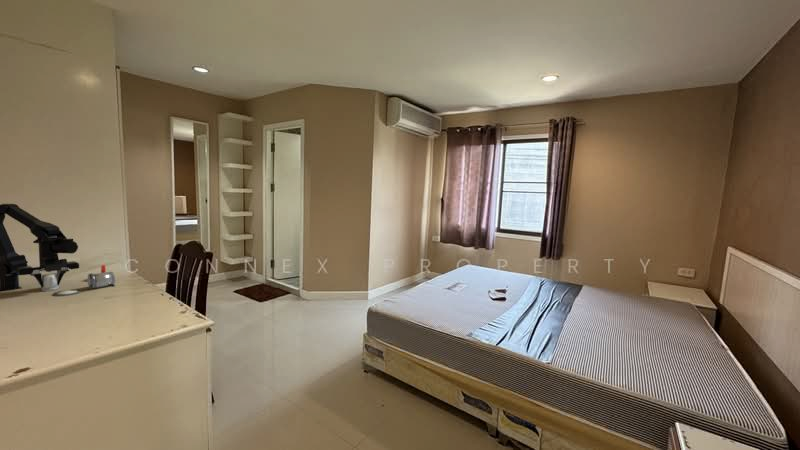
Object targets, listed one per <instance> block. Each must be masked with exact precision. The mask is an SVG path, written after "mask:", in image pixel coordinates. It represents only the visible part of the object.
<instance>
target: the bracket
mask: <svg viewBox="0 0 800 450" xmlns="http://www.w3.org/2000/svg"><path fill="white" fill-rule="evenodd" d="M106 270H107V269H106V265H105V264H103V265H101V268H100V273H105V272H107V271H106Z"/></svg>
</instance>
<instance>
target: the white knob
mask: <svg viewBox="0 0 800 450" xmlns="http://www.w3.org/2000/svg"><path fill="white" fill-rule="evenodd" d="M41 277H42V281H43V288H42V287H40V288H41V292H51V291H57V290H59V289H60V287H59V285H57V272H56V273H45V274H41Z"/></svg>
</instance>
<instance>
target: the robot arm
mask: <svg viewBox="0 0 800 450" xmlns="http://www.w3.org/2000/svg"><path fill="white" fill-rule="evenodd" d="M6 215H7V216H9V217H10V218H12V219H13V220H15V221H17V222H19V223H20V224H21V225H24V227H27V228H28V229H29V231H30V233H31V234H32V235H33V236H34V237H36V239H35V240H33V244H38V257H39V266H35V267H32V266H31V265H28V263H29V262H28V260H27V259H26V256H25V255H24V254H18V253H17V252H16V250H15V248H14V245H13V243H12V241H11V239H10V236H9V234H8V231H7V230H6V227H5V224H4V221H5V218H6ZM78 249H79V245H78V243H77V242H76V241H74V238H67V236H65V234H64V233H63V232H62V230H60V227H59V226H58V225H55V224H54V223H51V222H48V221H44V220H40V219H39V218H37V217H36V216H34V215H33V214H31V213H29V212H27V211H26V210H24V209H22V208H21V207H20V206H19V205H18V204H16V203H1V204H0V292H7V291H13V290H22V289H23V287H21V286H20V279H19V278H20V277H19V276H26V275H27V276H28V275H29V276H31V277H32V276H33V278H35V280H36V281H37V283H38V284H39V286H40V288H43V281H42V271H45V272H48V273H50V272H56V274H57V286H59V285H60V283H61V281H62V278H63V276H64V275H65V274H66V273H67V272H70V270H76V269H80V263H78V261H74V260H73V261H68V259H67V258H59V254H71V255H72V254H74V253H76V252H77V251H78Z"/></svg>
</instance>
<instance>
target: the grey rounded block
mask: <svg viewBox="0 0 800 450" xmlns="http://www.w3.org/2000/svg"><path fill="white" fill-rule="evenodd" d="M115 277H116V276H115V274H114V272H113V271H106V272H105V273H101V272H100V273H98V272H97V273H88V274H87V286H88V288H89V289H90V290H96V289H101V288H107V287H111V286H112V287H114V288H115V287H116V284H115V282H116V279H115Z"/></svg>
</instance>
